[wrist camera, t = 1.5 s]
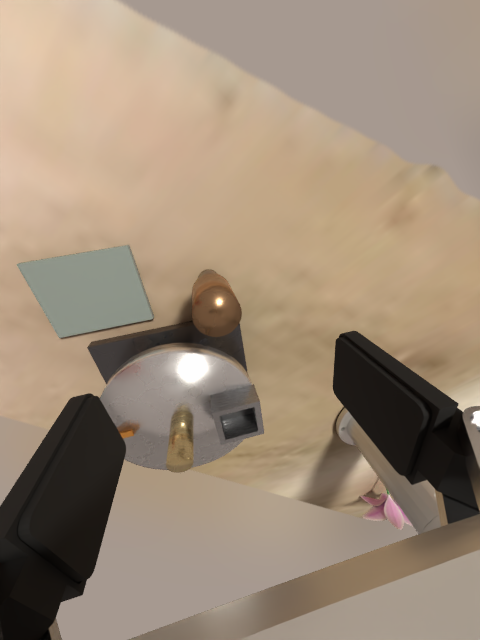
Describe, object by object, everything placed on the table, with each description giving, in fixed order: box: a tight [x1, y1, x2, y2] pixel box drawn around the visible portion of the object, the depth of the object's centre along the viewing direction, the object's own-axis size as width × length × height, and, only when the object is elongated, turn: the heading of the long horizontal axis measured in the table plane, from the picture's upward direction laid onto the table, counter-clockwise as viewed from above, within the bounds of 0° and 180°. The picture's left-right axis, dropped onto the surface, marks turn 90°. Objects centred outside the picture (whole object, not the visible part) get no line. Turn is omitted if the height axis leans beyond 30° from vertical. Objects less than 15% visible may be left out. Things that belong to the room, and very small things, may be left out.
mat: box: [17, 245, 154, 338], centre depth 23 cm, size 10×8×1 cm
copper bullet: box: [192, 269, 242, 337], centre depth 21 cm, size 4×4×10 cm
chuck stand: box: [87, 321, 248, 384], centre depth 29 cm, size 17×17×4 cm
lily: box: [361, 489, 413, 530], centre depth 49 cm, size 12×12×10 cm
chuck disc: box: [100, 343, 264, 472], centre depth 23 cm, size 17×17×7 cm
